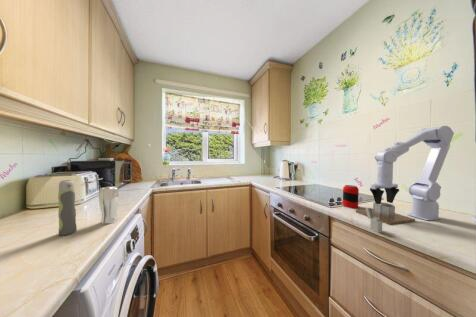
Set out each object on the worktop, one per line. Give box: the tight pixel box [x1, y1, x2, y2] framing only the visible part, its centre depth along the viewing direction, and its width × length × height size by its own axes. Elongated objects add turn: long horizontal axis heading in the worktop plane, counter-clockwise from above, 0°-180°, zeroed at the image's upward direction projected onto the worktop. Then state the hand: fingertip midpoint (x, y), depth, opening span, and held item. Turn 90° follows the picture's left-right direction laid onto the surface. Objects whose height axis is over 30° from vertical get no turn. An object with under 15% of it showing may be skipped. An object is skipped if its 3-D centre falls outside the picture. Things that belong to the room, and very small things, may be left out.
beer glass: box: [98, 186, 120, 225], centre depth 77 cm, size 7×7×15 cm
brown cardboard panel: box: [355, 201, 416, 225], centre depth 85 cm, size 16×16×6 cm
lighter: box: [365, 207, 383, 234], centre depth 71 cm, size 7×2×8 cm, turn 179°
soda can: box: [342, 184, 360, 209], centre depth 101 cm, size 8×8×12 cm
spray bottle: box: [57, 179, 78, 236], centre depth 65 cm, size 5×5×20 cm
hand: (383, 203), depth 85 cm, fingers open, 7 cm apart
